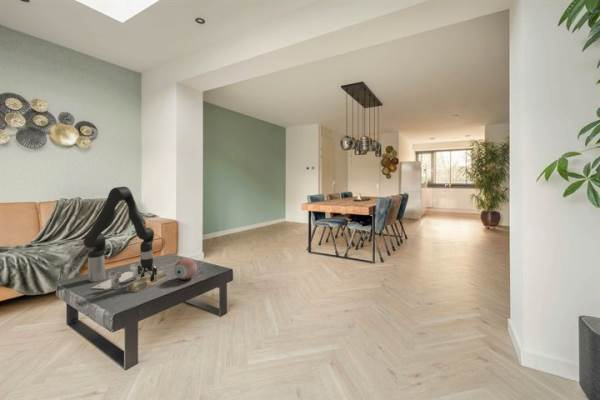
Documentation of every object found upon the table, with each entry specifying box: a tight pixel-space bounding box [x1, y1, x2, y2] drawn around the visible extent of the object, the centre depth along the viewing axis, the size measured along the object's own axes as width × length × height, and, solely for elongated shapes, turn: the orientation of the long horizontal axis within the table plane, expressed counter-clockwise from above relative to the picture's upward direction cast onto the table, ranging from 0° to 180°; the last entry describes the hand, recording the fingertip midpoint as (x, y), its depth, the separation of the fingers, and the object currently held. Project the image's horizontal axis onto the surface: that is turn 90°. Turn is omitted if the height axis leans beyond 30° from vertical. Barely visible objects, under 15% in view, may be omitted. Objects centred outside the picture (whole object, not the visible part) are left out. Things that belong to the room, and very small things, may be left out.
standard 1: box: [108, 270, 122, 291], centre depth 172 cm, size 6×4×11 cm, turn 76°
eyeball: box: [173, 257, 198, 280], centre depth 189 cm, size 15×15×15 cm
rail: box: [129, 270, 164, 290], centre depth 180 cm, size 4×24×5 cm, turn 166°
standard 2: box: [129, 263, 141, 281], centre depth 187 cm, size 6×4×11 cm, turn 76°
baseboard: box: [91, 271, 133, 290], centre depth 186 cm, size 31×3×12 cm
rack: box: [125, 273, 168, 293], centre depth 180 cm, size 9×26×3 cm, turn 166°
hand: (147, 280), depth 180 cm, fingers open, 7 cm apart
